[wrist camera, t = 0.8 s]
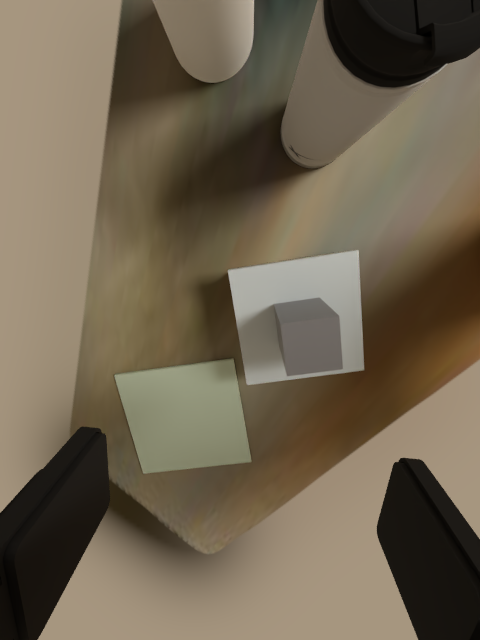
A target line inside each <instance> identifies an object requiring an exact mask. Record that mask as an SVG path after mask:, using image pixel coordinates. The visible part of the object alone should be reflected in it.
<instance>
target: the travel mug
mask: <svg viewBox="0 0 480 640" xmlns="http://www.w3.org/2000/svg"><path fill="white" fill-rule="evenodd" d="M479 48H480V0H318V1H317V4H316V8H315V11H314V15H313V18H312V21H311V25H310V28H309V32H308V35H307V38H306V42H305V45H304V48H303V52H302V55H301V59H300V62H299V65H298V69H297V72H296V76H295V79H294V82H293V86H292V89H291V92H290V96H289V99H288V103H287V106H286V109H285V113H284V116H283V120H282V124H281V132H280V133H281V141H282V145H283V148H284V150H285V152H286V154H287V155H288V156H289V158H290V159H291V160H292V161H293V162H295V163H296V164H298V165H300V166H302V167H305V168H320V167H323V166H326V165H328V164H329V163H331V162H333V161H334V160H335V159H336V158H337V157H339V156H340V155H341V154H342V153H343V152H345V151H346V150H347V149H348V148H349V147H350V146H352V145H353V144H354V143H355V142H356V141H358V140H359V139H360V138H361V137H362V136H364V135H365V134H366V133H367V132H368V131H369V130H371V129H372V128H373V127H374V126H375V125H377V124H378V123H379V122H380V121H381V120H382V119H384V118H385V117H386V116H387V115H388V114H390V113H391V112H392V111H393V110H394V109H396V108H397V107H398V106H399V105H400V104H401V103H403V102H404V101H405V100H406V99H407V98H409V97H410V96H411V95H412V94H413V93H414V92H416V91H417V90H418V89H419V88H420V87H422V86H423V85H424V84H425V83H426V82H427V81H429V80H430V79H431V78H432V77H433V76H435V75H436V74H437V73H438V72H439V71H440V70H442V69H443V68H444V67H445V66H446V65H447V64H448V63H452V62H455V61H458V60H461V59H464V58H466V57H468V56H469V55H471V54H472V53H473V52H475V51H476V50H477V49H479Z"/></svg>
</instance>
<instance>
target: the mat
mask: <svg viewBox="0 0 480 640" xmlns="http://www.w3.org/2000/svg"><path fill="white" fill-rule="evenodd" d="M114 377H115V380H116V384H117V387H118V391H119V394H120V397H121V401H122V404H123V407H124V411H125V414H126V417H127V421H128V424H129V427H130V431H131V434H132V438H133V441H134V444H135V448H136V451H137V454H138V458H139V461H140V464H141V468H142V471H143V474H146V473H155V472H164V471H173V470H183V469H192V468H201V467H210V466H220V465H229V464H238V463H247V462H251V455H250V449H249V443H248V437H247V432H246V426H245V420H244V415H243V409H242V403H241V398H240V392H239V386H238V380H237V375H236V369H235V363H234V358H231V359H223V360H216V361H208V362H201V363H193V364H186V365H178V366H171V367H163V368H156V369H148V370H141V371H134V372H126V373H119V374H115V375H114Z"/></svg>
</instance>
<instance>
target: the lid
mask: <svg viewBox="0 0 480 640" xmlns="http://www.w3.org/2000/svg"><path fill="white" fill-rule="evenodd" d="M228 275H229V281H230V287H231V293H232V299H233V305H234V311H235V317H236V323H237V329H238V335H239V341H240V347H241V353H242V359H243V365H244V371H245V377H246V383H247V385H253V384H261V383H268V382H276V381H284V380H292V379H300V378H308V377H316V376H324V375H332V374H339V373H347V372H355V371H363V370H364V354H363V333H362V312H361V291H360V270H359V250H350V251H343V252H337V253H330V254H324V255H318V256H311V257H305V258H298V259H292V260H285V261H279V262H272V263H266V264H259V265H253V266H247V267H240V268H234V269H228Z"/></svg>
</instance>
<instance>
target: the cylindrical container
mask: <svg viewBox="0 0 480 640" xmlns="http://www.w3.org/2000/svg"><path fill="white" fill-rule="evenodd" d="M152 1H153V3H154V5H155V8H156V10H157V12H158V15H159V17H160V20H161V22H162V24H163V27H164V29H165V32H166V34H167V36H168V39H169V41H170V43H171V46H172V48H173V51H174V53H175V55H176V58H177V59H178V61H179V63H180V64H181V66H182V67H183V68H184V69H185V71H186V72H187V73H188V74H190V75H191V76H193V77H194V78H196V79H198V80H200V81H203V82H208V83H218V82H222V81H225V80H227V79H229V78H231V77H232V76H234V75H235V74H236V73H237V72H239V70H240V69H241V68H242V67H243V65H244V64H245V62H246V60H247V58H248V57H249V54H250V51H251V48H252V43H253V28H254V0H152Z"/></svg>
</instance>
